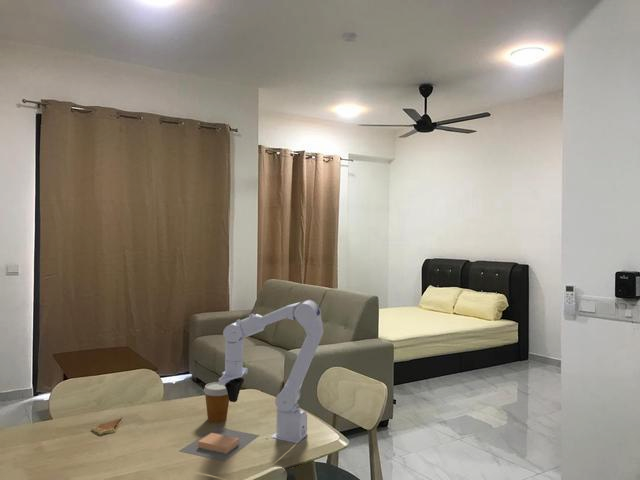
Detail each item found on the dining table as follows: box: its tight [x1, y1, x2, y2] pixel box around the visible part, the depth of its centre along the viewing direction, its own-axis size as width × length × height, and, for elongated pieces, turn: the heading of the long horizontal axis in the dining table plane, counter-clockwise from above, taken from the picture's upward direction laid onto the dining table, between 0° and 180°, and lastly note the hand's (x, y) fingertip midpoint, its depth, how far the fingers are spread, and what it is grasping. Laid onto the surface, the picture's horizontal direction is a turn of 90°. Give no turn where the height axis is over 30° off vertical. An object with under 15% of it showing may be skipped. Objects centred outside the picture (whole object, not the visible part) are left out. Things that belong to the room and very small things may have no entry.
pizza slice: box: [91, 417, 123, 435], centre depth 164 cm, size 11×8×2 cm
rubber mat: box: [178, 426, 260, 462], centre depth 153 cm, size 16×20×1 cm
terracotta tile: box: [198, 433, 239, 454], centre depth 150 cm, size 10×2×7 cm
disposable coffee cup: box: [203, 381, 230, 424], centre depth 173 cm, size 10×10×12 cm
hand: (233, 401), depth 163 cm, fingers closed
